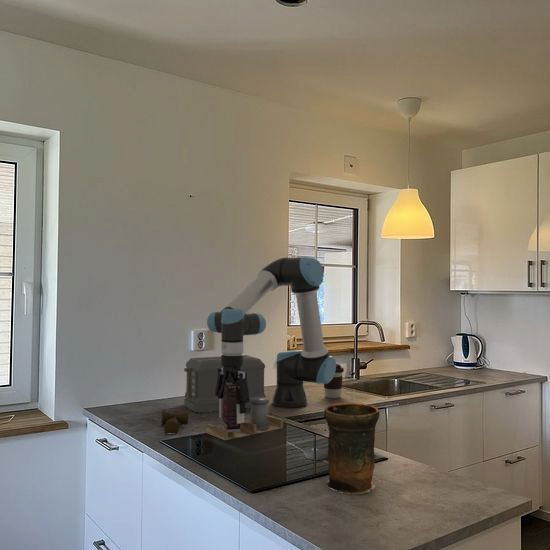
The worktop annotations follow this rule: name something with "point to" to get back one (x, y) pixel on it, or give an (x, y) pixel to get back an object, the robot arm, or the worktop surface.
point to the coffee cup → (335, 384)
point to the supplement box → (230, 407)
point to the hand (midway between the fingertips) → (231, 420)
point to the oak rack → (244, 429)
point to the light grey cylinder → (259, 412)
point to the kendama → (173, 420)
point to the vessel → (351, 447)
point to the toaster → (205, 379)
